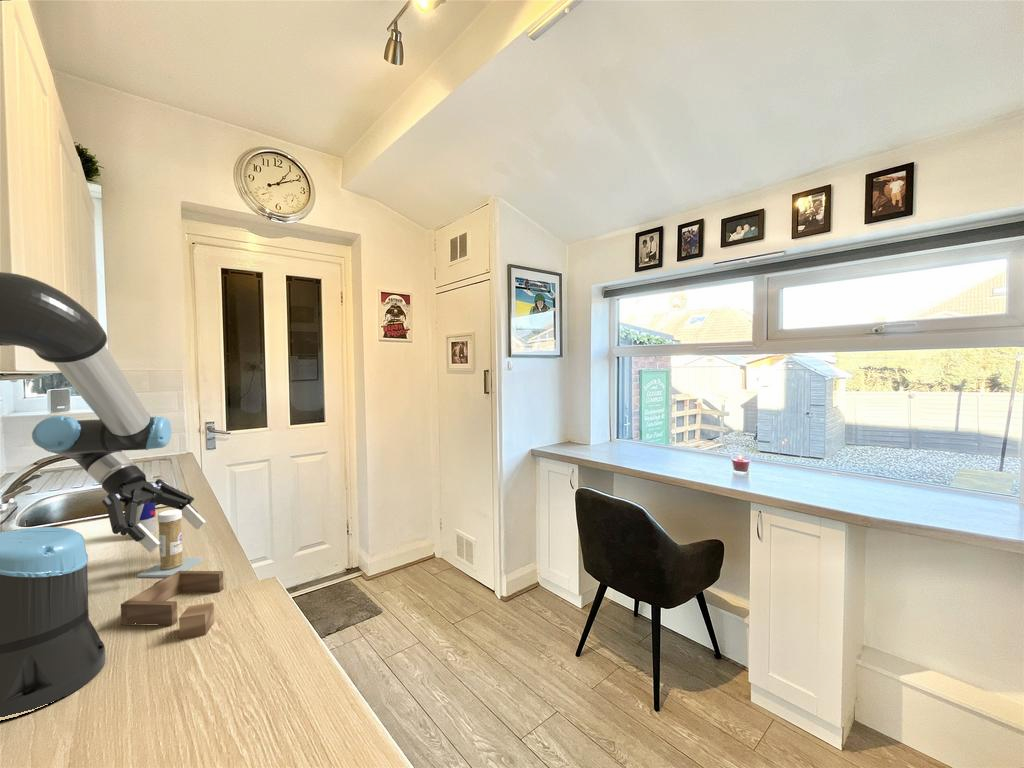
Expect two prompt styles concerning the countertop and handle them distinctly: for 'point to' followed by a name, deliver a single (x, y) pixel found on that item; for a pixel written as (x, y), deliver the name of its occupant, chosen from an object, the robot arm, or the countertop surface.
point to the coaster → (160, 573)
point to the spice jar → (170, 539)
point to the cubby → (153, 600)
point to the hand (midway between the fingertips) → (180, 536)
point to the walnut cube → (196, 620)
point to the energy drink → (146, 516)
